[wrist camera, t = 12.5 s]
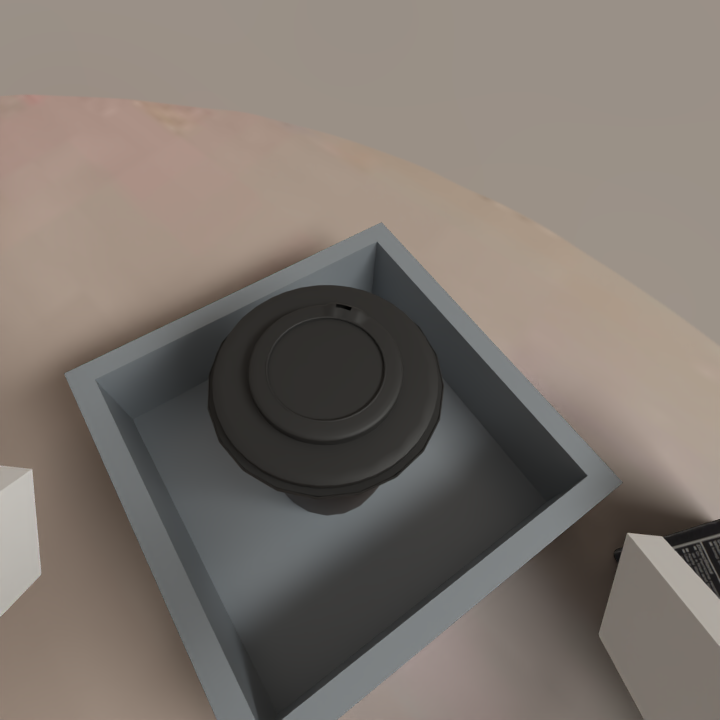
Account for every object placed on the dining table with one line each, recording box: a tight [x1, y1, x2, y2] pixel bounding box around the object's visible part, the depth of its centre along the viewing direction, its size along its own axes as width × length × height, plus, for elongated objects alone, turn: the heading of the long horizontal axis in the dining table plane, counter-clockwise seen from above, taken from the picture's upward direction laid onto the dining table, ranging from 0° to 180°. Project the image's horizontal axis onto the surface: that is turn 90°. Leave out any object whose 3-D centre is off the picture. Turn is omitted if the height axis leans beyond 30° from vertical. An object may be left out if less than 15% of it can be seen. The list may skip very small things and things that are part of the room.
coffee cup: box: [207, 285, 444, 516], centre depth 20 cm, size 8×8×10 cm
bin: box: [64, 222, 623, 720], centre depth 23 cm, size 17×17×6 cm
